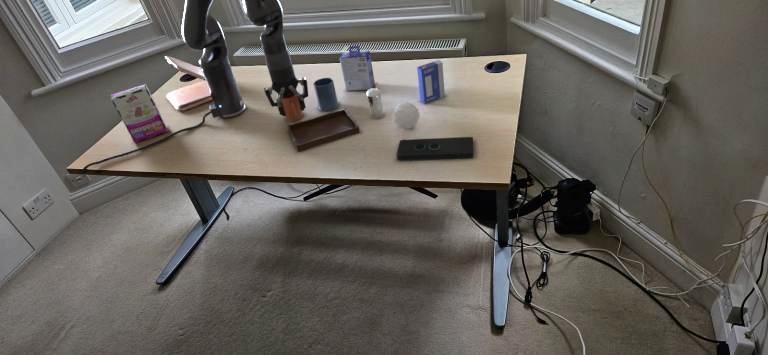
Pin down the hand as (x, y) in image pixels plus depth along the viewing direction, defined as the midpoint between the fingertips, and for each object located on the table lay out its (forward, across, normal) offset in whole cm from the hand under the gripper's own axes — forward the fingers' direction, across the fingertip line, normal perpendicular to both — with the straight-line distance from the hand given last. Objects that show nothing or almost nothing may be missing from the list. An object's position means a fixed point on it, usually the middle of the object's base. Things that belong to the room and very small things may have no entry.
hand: (293, 112), depth 154 cm
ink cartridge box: (+2, -26, -8) cm, 27 cm away
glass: (+2, -12, 0) cm, 12 cm away
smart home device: (+2, -30, +45) cm, 54 cm away
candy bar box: (+2, +47, -18) cm, 50 cm away
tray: (+2, -6, +16) cm, 17 cm away
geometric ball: (+2, -29, +28) cm, 40 cm away
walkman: (+2, -43, +16) cm, 46 cm away
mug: (+2, 0, +1) cm, 2 cm away
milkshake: (+2, -24, +16) cm, 29 cm away
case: (+2, +30, -42) cm, 52 cm away
